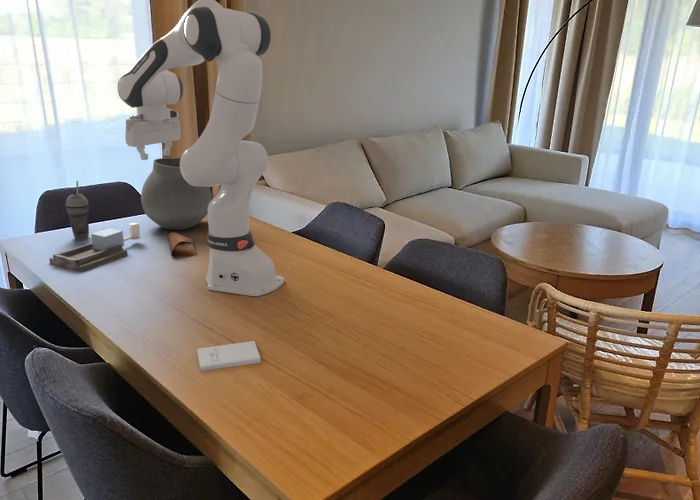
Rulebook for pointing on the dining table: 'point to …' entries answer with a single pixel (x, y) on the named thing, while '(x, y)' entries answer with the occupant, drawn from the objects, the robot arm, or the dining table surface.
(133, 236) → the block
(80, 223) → the beverage cup
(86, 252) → the tray
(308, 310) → the dining table surface
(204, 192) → the ceramic pot
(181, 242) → the sunglasses case
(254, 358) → the external hard drive
